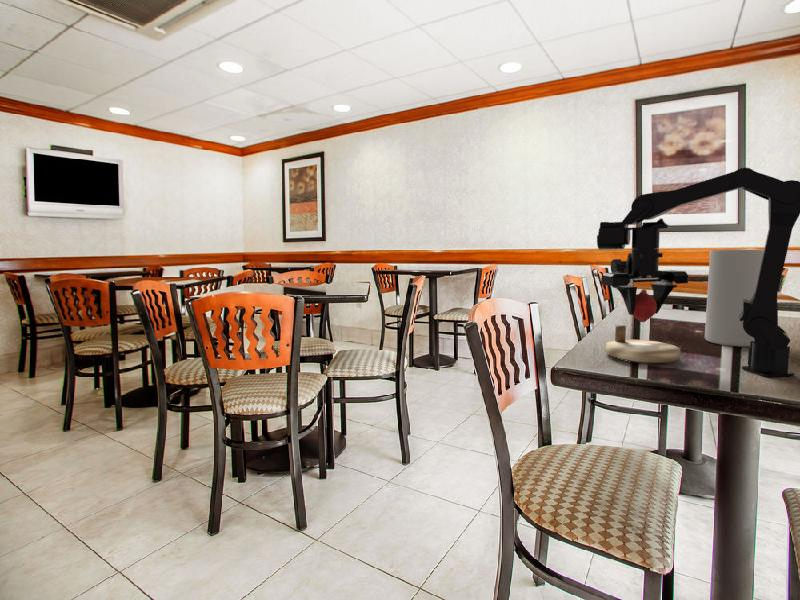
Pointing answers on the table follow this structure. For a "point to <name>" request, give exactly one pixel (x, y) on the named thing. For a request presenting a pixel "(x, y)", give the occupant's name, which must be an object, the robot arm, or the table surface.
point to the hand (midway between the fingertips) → (643, 314)
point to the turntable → (640, 349)
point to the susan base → (646, 362)
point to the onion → (644, 306)
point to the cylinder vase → (730, 294)
